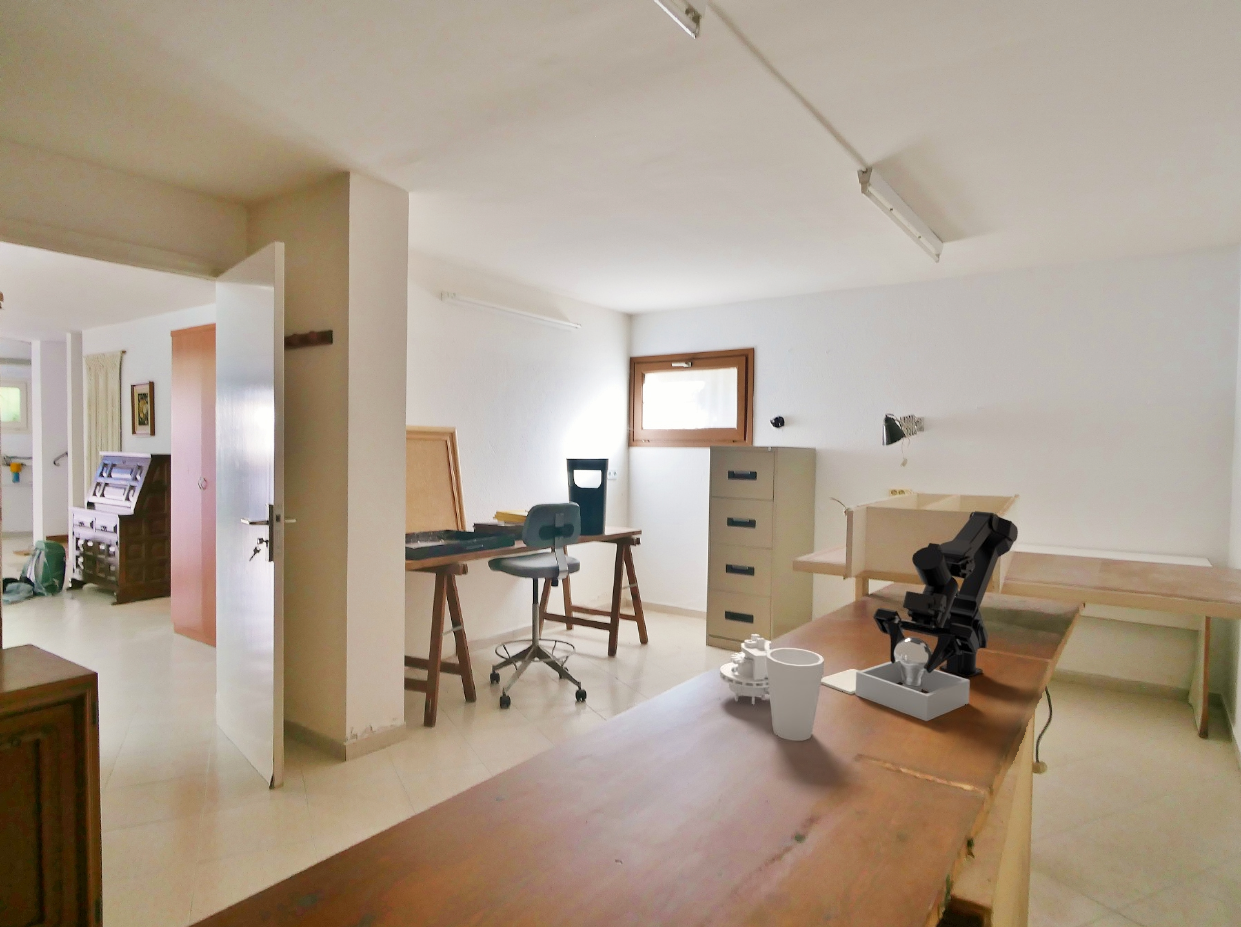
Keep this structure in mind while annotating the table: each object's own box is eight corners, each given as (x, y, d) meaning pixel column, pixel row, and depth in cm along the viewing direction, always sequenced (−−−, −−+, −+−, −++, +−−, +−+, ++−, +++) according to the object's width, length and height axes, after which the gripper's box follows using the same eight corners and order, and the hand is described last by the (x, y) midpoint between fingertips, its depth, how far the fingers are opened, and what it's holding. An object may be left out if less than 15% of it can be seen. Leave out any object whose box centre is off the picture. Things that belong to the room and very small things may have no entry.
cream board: (852, 670, 149) (852, 668, 149) (886, 682, 142) (886, 679, 142) (816, 681, 142) (816, 679, 142) (850, 694, 135) (850, 691, 135)
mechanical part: (720, 685, 139) (722, 627, 138) (782, 691, 136) (784, 631, 136) (717, 707, 127) (719, 644, 127) (785, 714, 125) (787, 649, 125)
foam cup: (822, 726, 121) (825, 652, 120) (819, 748, 112) (822, 669, 111) (767, 717, 124) (769, 645, 123) (760, 739, 115) (762, 661, 114)
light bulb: (935, 708, 129) (937, 644, 129) (895, 704, 131) (898, 641, 130) (926, 694, 136) (929, 633, 136) (889, 690, 138) (891, 630, 137)
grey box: (898, 680, 144) (899, 658, 144) (968, 703, 132) (969, 680, 132) (855, 694, 135) (856, 672, 135) (926, 721, 123) (927, 696, 123)
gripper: (879, 568, 142) (850, 631, 135) (976, 584, 128) (949, 655, 121) (895, 600, 148) (868, 663, 141) (989, 619, 134) (964, 689, 127)
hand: (909, 666), depth 132 cm, fingers open, 7 cm apart
